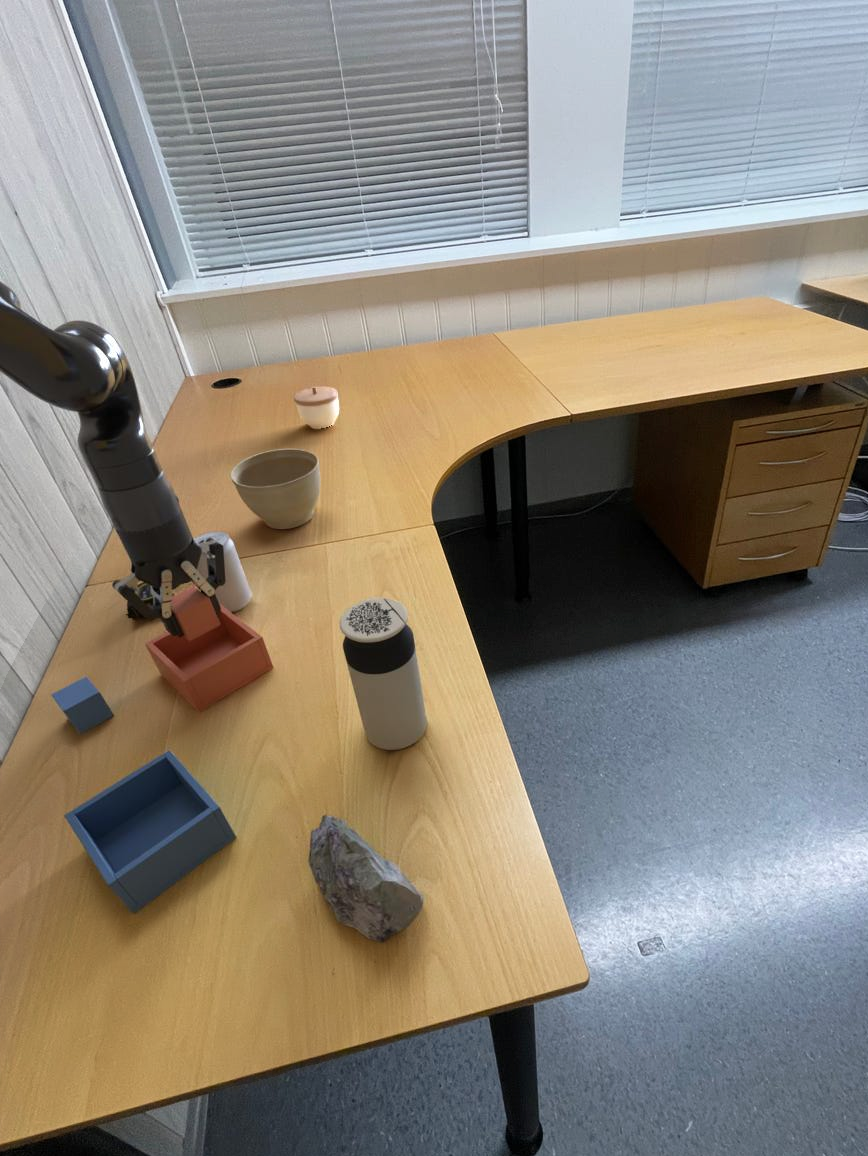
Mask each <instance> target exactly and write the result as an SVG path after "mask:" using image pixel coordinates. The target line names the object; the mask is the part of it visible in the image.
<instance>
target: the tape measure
mask: <svg viewBox="0 0 868 1156" xmlns="http://www.w3.org/2000/svg"><path fill="white" fill-rule="evenodd" d="M138 587H139V593H138V594H137V596H138V597H139V598H140V599H141V600H142V601H143V602H144V603H145V604H146V605H147V606H149V605H154V602H153V595H152V593H151V586H150V585H149V584H146V583H144V582H140V583H138ZM174 595H175V594H174V592H172V596H174ZM126 601H127V600H126ZM126 611H127V613H125V616H127V619H129V620H130V619H132V620H133V621H139V620H142V619H144V618H145V617H144V616H143V615H142V614H141V613H140V612H139V611H138V610H137V609H135V608H134V607H133V606H132V605H131V604H130V603H129V602H128V601H127V602H126Z"/></svg>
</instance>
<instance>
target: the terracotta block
mask: <svg viewBox="0 0 868 1156" xmlns="http://www.w3.org/2000/svg"><path fill="white" fill-rule="evenodd" d="M173 595H174V596H172V597H173V600H172V601H171V607H172V613H173V614H174V615H175V616H176V619H177V621H178V623H179V625H180V627H181V629H182V631H183V633H184V637H185V638H186V639H188V640H189V641H192V640H194V639H196V638H197V637H199V636H201V635H203V634H205V633H207V632H209V631H210V630H212V629H214V628H216V627H218V626H220V622H219V620H218V618H217V615H216V613H215V610H214V608H213V606H212V603H211V601H210V599H209V598H208V597H207V596H205V595H204V594H203V593H202V592H200V589H199V588H197V587H196V586H195V585H193V586H190V587H188V588H186V589H184V590H183V591H180V592H178V593H176V594H173Z"/></svg>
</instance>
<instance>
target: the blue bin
mask: <svg viewBox="0 0 868 1156" xmlns="http://www.w3.org/2000/svg"><path fill="white" fill-rule="evenodd" d="M63 817H64V818H65V819H66V821H67V823H68V825H69V826H70V828H71V829H72V830H73V832H74V834H75V835H76V837H77V839H78V840H79V842H80V844H81V845H82V847H83V848H84V849H85V851H86V853H87V854H88V856H89V858H90V859H91V861H92V862H93V864H94V865H95V867H96V869H97V871H98V872H99V874H100V875H101V877H102V879H103V881H104V882H105V883H106V885H107V887H109V889H110V890H111V891H112V892H113V893H114V894H115V895H116V896H117V898H118V899H119V900H120V901H121V902H122V904H124V906H125V907H126V908H127V909H128V910H129V911H130V913H131V914H132V915H134V914H136V913H138V912H139V911H140V910H141V909H143V908H145V907H146V906H147V905H148V904H149V903H151V902H152V901H153V900H155V899H156V898H157V897H159V896H161V895H162V894H163V893H164V892H166V891H167V890H168V889H169V888H171V887H173V885H175V884H176V883H177V882H179V881H180V880H182V879H183V878H185V876H187V875H188V874H189V873H191V872H192V871H193V870H195V869H196V868H198V867H199V866H200V865H202V864H203V863H204V862H206V861H207V860H208V859H210V858H211V857H212V856H214V855H215V854H216V853H218V852H219V851H221V850H222V849H223V848H224V847H226V846H227V845H228V844H230V843H231V842H233V841H234V840H235V839H237V836H236V834H235V832H234V830H233V828H232V826H231V825H230V823H229V821H228V819H227V817H226V816H225V814H224V812H223V810H222V809H221V807H220V805H219V804H218V803H217V802H216V801H215V800H214V798H213V797H212V796H211V795H210V794H209V793H208V791H206V790H205V788H204V787H203V786H202V785H201V784H200V782H198V780H197V779H196V778H195V777H194V776H193V775H192V774H191V772H190V771H189V770H188V768H186V767H185V766H184V764H183V763H182V762H181V761H180V760H179V759H178V757H177V756H176V755H175V754H174V752H172V751H171V749H168V750H166V751H165V752H163V753H162V754H160V755H159V756H157V757H155V758H154V759H152V760H151V761H148V762H147V763H146V764H144V765H142V766H141V767H138V768H137V769H136V770H134V771H133V772H131V773H129V774H128V775H126V776H125V777H123V778H121V779H120V780H118V781H117V782H115V783H113V784H111V785H110V786H108V787H107V788H106V789H104V790H102V791H100V792H99V793H97V794H96V795H94V796H93V797H91V798H90V799H88V800H86V801H84V802H83V803H81V804H80V805H78V806H76V807H75V808H73V809H72V810H70V811H69V812H67V813H65V814H64V815H63Z"/></svg>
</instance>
